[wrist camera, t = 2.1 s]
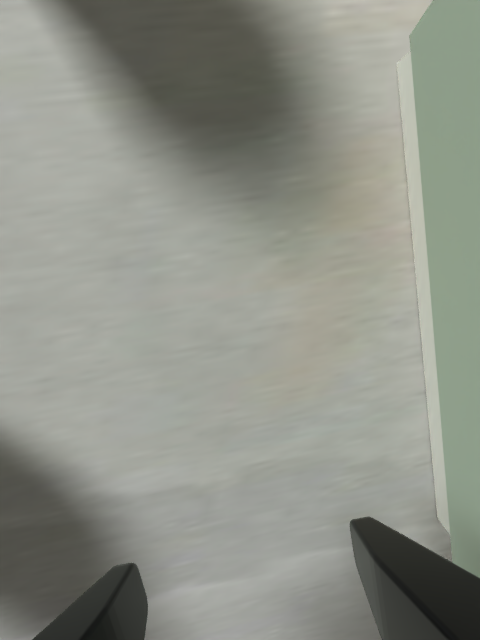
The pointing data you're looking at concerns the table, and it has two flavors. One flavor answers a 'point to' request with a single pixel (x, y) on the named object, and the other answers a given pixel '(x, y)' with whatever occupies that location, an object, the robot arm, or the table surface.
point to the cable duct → (422, 281)
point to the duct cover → (453, 244)
